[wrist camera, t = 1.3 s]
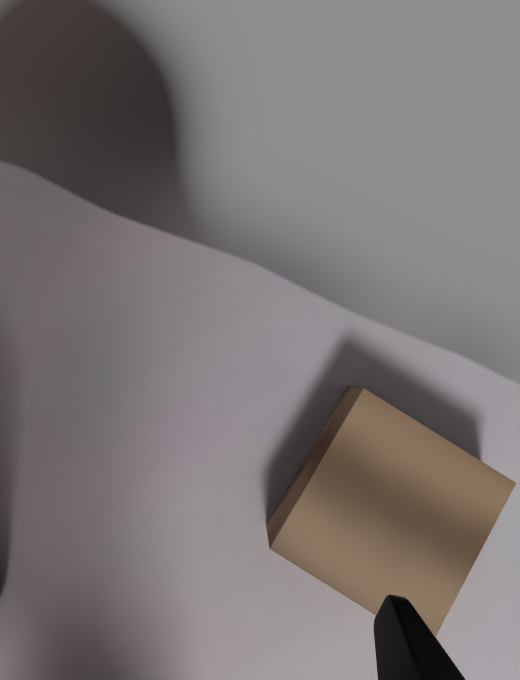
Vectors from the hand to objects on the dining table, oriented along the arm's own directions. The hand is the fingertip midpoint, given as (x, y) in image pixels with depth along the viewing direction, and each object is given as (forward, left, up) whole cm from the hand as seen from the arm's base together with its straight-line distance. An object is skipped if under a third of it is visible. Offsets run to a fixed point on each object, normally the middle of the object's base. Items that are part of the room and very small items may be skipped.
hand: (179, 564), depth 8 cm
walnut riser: (-1, -10, -15) cm, 19 cm away
